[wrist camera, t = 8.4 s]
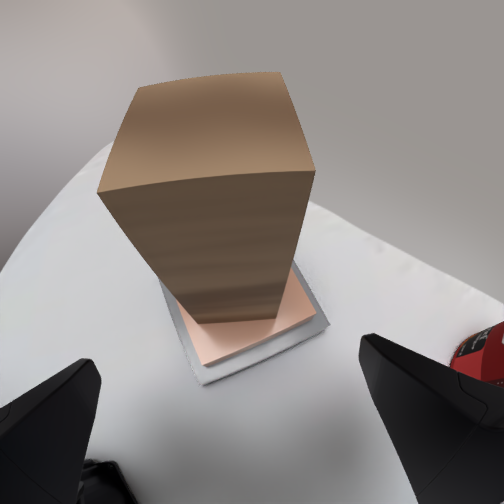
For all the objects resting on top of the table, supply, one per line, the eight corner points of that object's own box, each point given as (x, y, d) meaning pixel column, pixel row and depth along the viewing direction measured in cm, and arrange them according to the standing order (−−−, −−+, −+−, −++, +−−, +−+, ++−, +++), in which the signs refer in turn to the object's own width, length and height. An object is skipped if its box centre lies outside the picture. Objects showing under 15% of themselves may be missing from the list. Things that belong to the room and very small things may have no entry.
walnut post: (276, 318, 17) (315, 170, 6) (197, 324, 17) (96, 192, 6) (267, 248, 20) (280, 72, 8) (197, 254, 19) (138, 88, 8)
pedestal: (324, 329, 20) (336, 319, 17) (203, 385, 18) (193, 385, 15) (267, 228, 24) (268, 204, 21) (160, 272, 23) (146, 253, 20)
